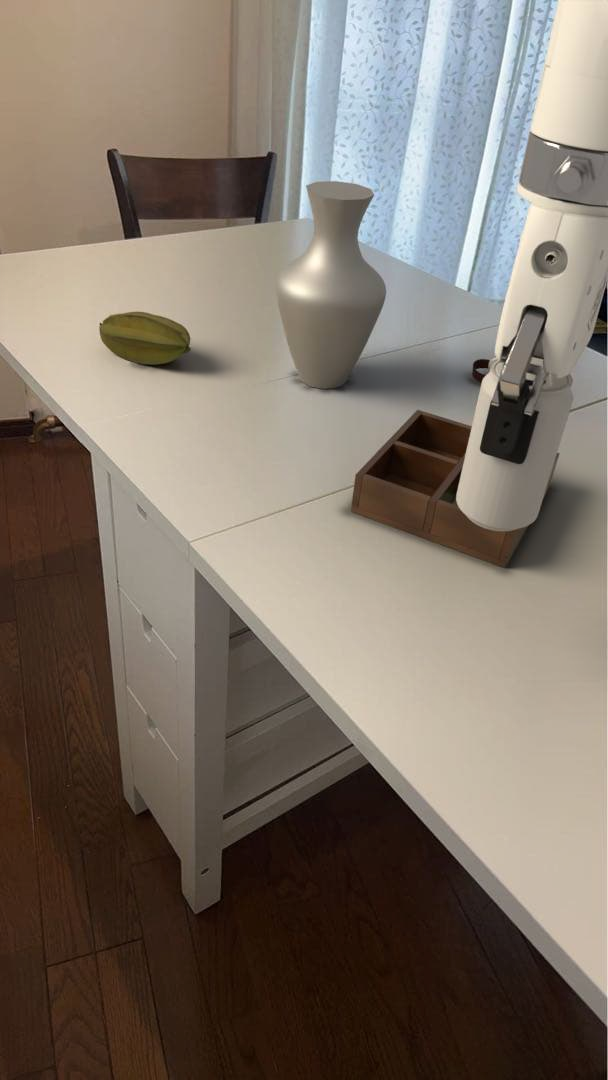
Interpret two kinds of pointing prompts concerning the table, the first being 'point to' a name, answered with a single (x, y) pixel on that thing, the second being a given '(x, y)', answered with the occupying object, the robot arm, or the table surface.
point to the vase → (330, 289)
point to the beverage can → (504, 487)
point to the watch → (481, 364)
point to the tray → (428, 489)
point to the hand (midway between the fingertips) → (516, 433)
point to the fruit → (144, 337)
